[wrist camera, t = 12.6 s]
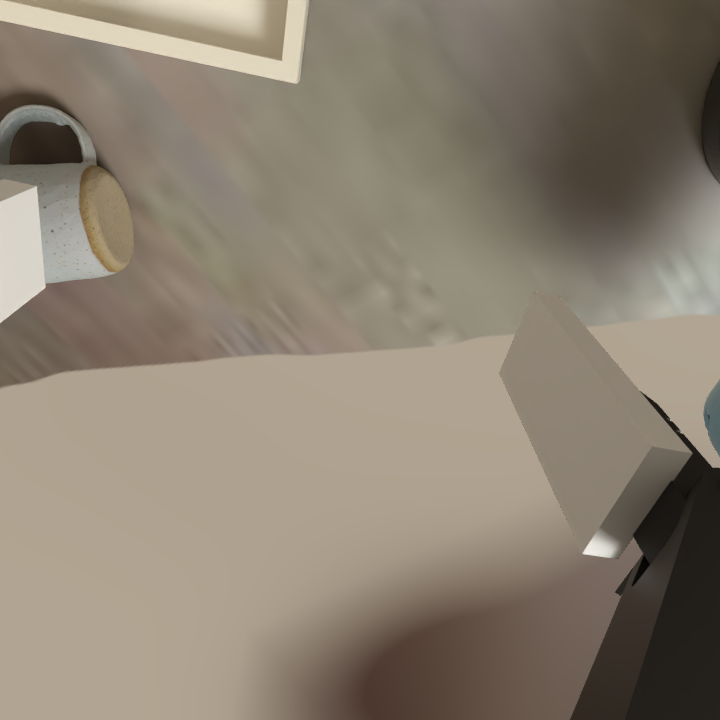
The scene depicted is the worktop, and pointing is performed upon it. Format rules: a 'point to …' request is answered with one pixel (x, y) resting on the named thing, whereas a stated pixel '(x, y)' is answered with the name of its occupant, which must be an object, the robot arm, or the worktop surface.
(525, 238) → the worktop surface
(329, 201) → the worktop surface
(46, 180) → the ceramic mug
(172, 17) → the tray
